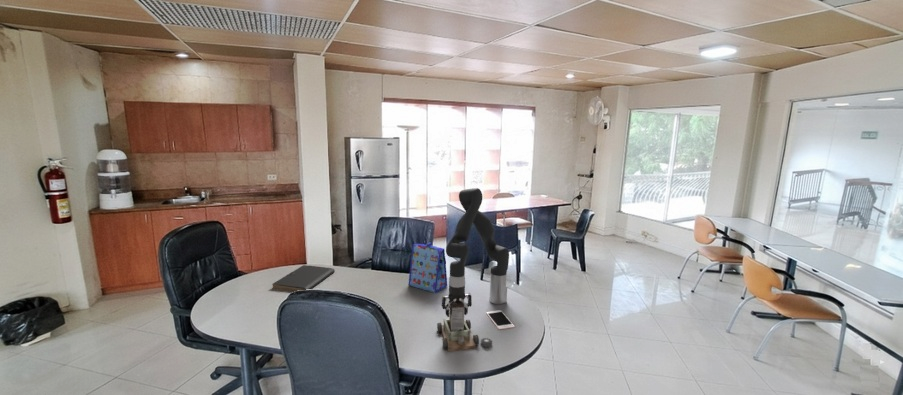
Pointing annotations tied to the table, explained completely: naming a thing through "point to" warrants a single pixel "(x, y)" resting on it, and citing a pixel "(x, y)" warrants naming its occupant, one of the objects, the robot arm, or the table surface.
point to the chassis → (457, 337)
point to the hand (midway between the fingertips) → (456, 315)
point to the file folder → (303, 278)
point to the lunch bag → (428, 268)
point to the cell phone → (500, 320)
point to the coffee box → (456, 317)
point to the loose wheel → (486, 342)
